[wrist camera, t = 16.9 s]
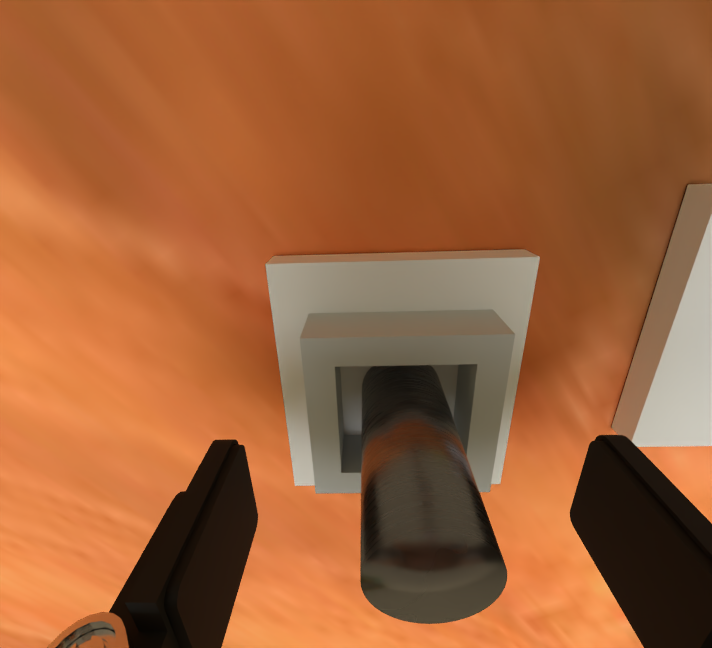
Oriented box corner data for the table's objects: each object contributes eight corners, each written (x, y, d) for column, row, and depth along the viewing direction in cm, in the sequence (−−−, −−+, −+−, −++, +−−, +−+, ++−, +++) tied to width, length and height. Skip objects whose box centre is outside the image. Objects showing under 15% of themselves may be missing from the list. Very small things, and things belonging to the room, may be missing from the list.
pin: (360, 355, 13) (358, 532, 7) (442, 354, 13) (517, 532, 7) (362, 420, 15) (362, 622, 8) (437, 420, 14) (496, 624, 8)
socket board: (273, 255, 13) (247, 281, 10) (524, 249, 13) (572, 274, 10) (299, 465, 17) (286, 527, 14) (491, 463, 17) (518, 525, 14)
